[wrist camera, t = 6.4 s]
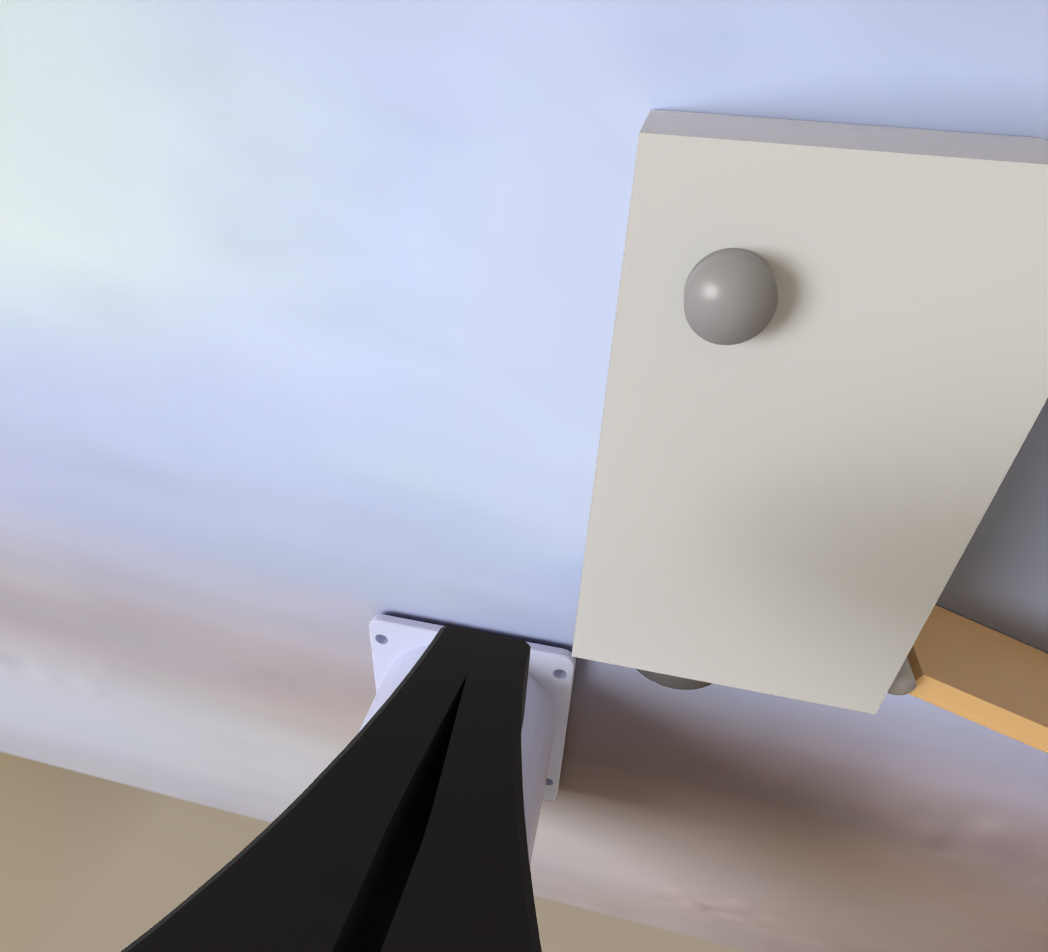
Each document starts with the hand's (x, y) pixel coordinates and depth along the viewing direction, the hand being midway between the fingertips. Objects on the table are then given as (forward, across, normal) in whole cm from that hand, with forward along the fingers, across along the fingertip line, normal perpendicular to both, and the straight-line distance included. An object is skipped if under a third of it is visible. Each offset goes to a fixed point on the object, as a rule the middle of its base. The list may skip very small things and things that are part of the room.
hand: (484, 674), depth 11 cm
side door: (+10, -14, +7) cm, 19 cm away
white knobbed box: (+10, -5, 0) cm, 12 cm away
